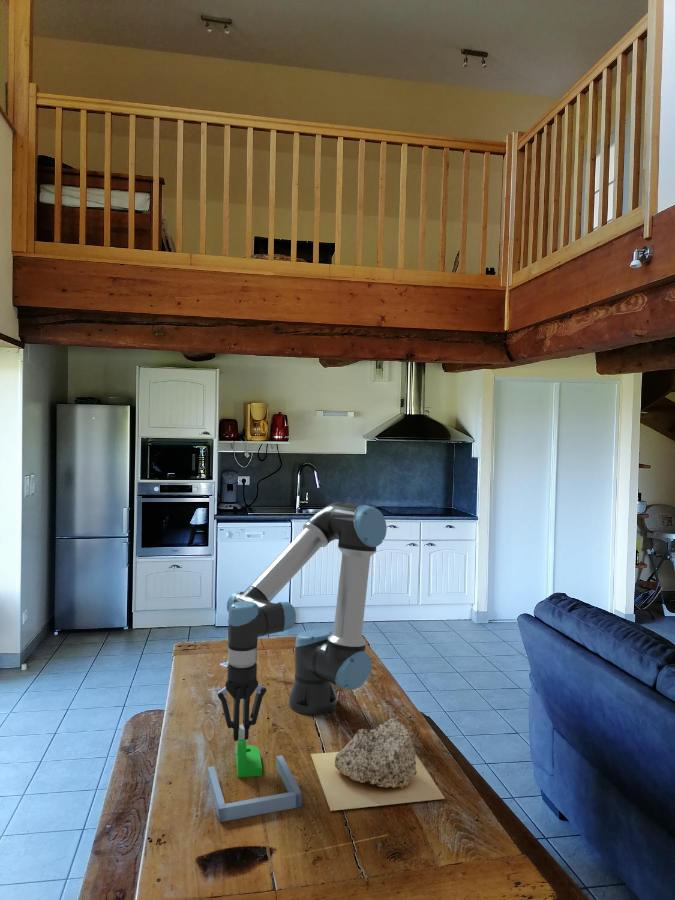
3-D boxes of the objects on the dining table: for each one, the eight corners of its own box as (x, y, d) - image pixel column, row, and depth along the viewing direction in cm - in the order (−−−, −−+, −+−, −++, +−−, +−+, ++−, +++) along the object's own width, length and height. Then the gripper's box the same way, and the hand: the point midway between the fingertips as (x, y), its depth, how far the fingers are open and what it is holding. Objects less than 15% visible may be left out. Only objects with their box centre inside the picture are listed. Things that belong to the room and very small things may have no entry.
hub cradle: (282, 766, 162) (282, 755, 162) (301, 806, 145) (302, 793, 145) (207, 779, 156) (207, 767, 156) (219, 822, 139) (219, 808, 139)
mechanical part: (262, 775, 158) (262, 744, 158) (237, 778, 157) (238, 746, 157) (258, 751, 170) (258, 722, 170) (235, 753, 169) (236, 724, 168)
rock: (409, 743, 173) (423, 707, 165) (433, 825, 156) (449, 789, 147) (310, 751, 167) (318, 714, 158) (322, 837, 149) (333, 801, 141)
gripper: (263, 655, 169) (261, 741, 170) (214, 659, 165) (213, 748, 166) (270, 665, 162) (268, 755, 163) (219, 670, 158) (217, 763, 159)
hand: (240, 751), depth 164 cm, fingers closed
